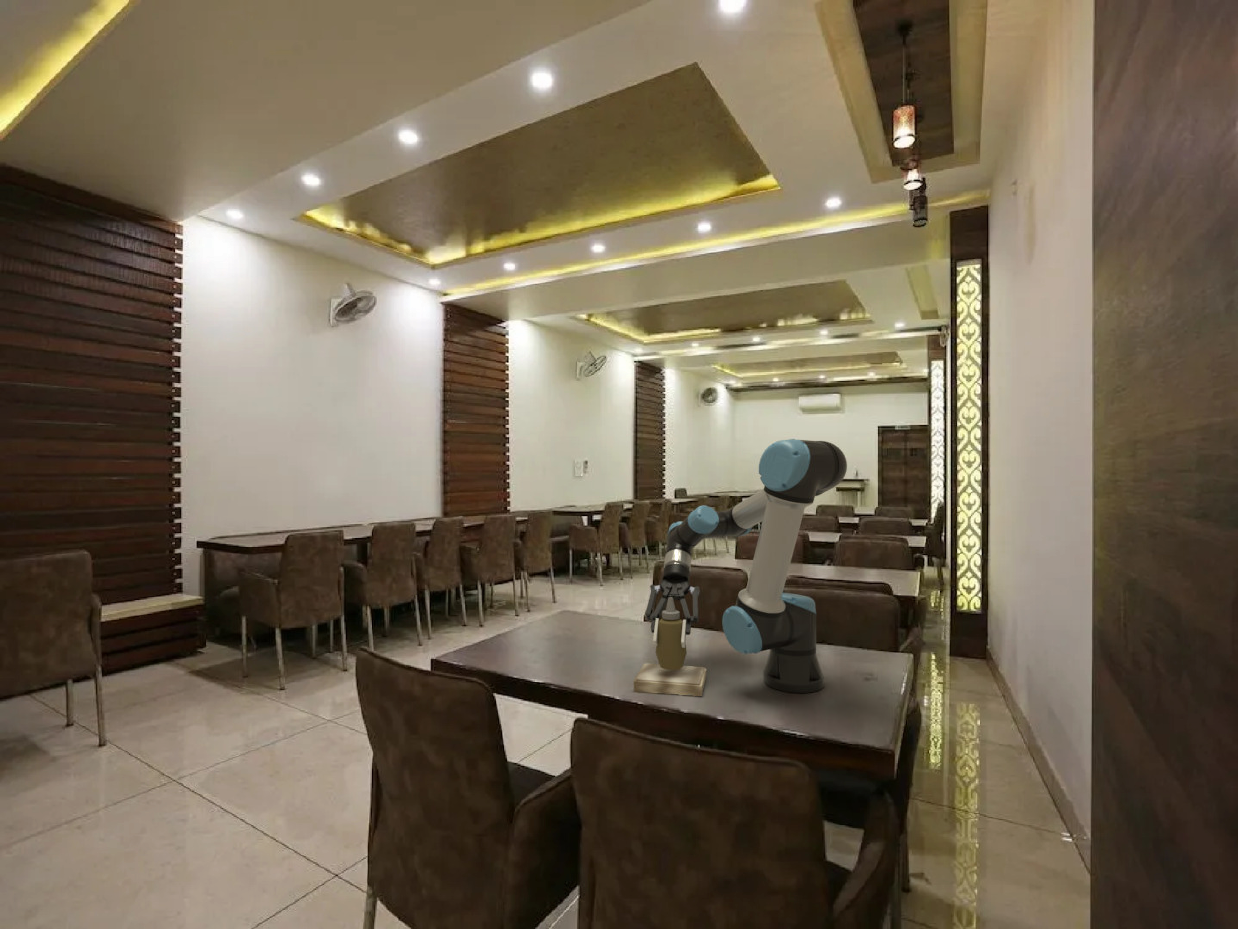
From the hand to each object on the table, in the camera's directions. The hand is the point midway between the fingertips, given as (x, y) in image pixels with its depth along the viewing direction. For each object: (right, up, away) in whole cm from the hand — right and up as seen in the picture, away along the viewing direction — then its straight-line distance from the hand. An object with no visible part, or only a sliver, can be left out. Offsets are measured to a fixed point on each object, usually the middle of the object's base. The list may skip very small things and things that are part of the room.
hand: (669, 644), depth 149 cm
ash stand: (+1, -12, +3) cm, 12 cm away
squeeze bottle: (+1, -7, +3) cm, 8 cm away
